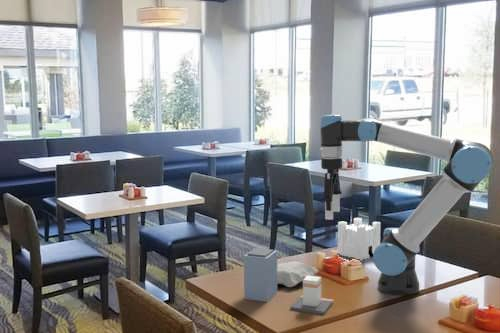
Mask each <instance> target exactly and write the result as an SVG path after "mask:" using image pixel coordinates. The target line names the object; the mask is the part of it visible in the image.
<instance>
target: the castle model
mask: <svg viewBox="0 0 500 333" xmlns="http://www.w3.org/2000/svg"><path fill="white" fill-rule="evenodd" d="M371 224H372V225H368V224H364V223H363V219H362V218H361V217H354V218H353V223H351V224H348V222H347V221H343V220H342V221H337V251H338V252H339V253H340V256H344V257H346V256H348V257H347V258H350V257H354V258H358V259H361V260H360V261H364V260H363V259H365V260H367V258H368V259H370V254H369V251H371V254H373V255H374V251H375V249H376V247H377V246H379V245H380V244H381V225H382V224H381V222H380V221H373V222H372V223H371Z"/></svg>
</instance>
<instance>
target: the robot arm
mask: <svg viewBox="0 0 500 333" xmlns="http://www.w3.org/2000/svg"><path fill="white" fill-rule="evenodd" d="M342 118H343V116H342V115H341V114H325V115H322V116H321V117H320V126H319V130H320V148H319V152H320V154H321V156H320V157H321V163H320V165H321V169H322V170H326V172H325V174H324V188H323V190H324V191H323V198H322V202H324V212H325V213H324V216H325V217H324V219H325V220H329V221H330V220H334V212H335V213H339V212H341V211H340V210H341V202H340V201H341V198H340V195H342V193H343V191H342V190H341V184H340V183H341V182H340V175H339V170H340V169H342V168H343V158H342V157H343V142H366V143H367V142H378V143H381V144H384V145H388V146H391V147H396V148H399V149H403V150H405V151H409V152H413V153H416V154H419V155H423V156H426V157H430V158H434V159H437V160H440V161H444V162H445V163H446V165H445V166H444V168H443V169H442V177H441V178H440V180H439V181H438V182H437V183H436V184H435V186H434V187H432V189H431V190H430V191H429V192H428V194H427V195H426V196H425V197H424V198H423V199H422V201H421V202H420V203H419V204H418V206H417V207H416V208H415V209H414V210H413V211H412V213H411V214H410V215H409V216H408V217H407V219H405V221H404V222H403V223H402V224H401V226H399V227H386V228H384V230H383V240H382V241H380V245H379V246H377V247H376V249H375V251H374V254H373V255H372V259H373V263H374V266H375V267H376V268H377V270H378V271H379V272H381V273H380V275H379V278H378V281H377V288H378V289H379V290H380V291H381V292H383V293H387V294H389V295H390V294H391V295H397V296H409V295H414V294H415V295H416V294H417V293H419V291H420V281H419V278H418V275H417V272H416V256H417V255H418V254H419V252H420V249H421V248H420V244H421V243H422V242H423V241H424V240H425V238H427V236H428V235H429V234H430V233H431V232H432V230H433V229H434V228H436V226H437V225H438V224H439V223H440V221H441V220H442V219H443V218H444V217H445V216H446V215H447V213H448V212H449V211H450V210H451V209H452V207H454V206H455V204H456V203H457V202H458V201H459V200H460V199H461V198H462V196H463V195H464V194H465V193H466V194H467V193H472V192H473V191H474V190H475V189H476V188H477V186H478V185H479V184H480V183H481V182H482V181H483V180H485V179H486V178H487V177H488V176H489V175H490V173H491V170H492V168H493V164H494V159H493V158H494V157H493V153H492V151H491V150H490V148H488V147H487V145H484V144H482V143H480V142H474V141H468V140H464V139H459V138H455V139H452V140H450V139H448V138H443V137H441V136H436V135H433V134H429V133H426V132H421V131H417V130H413V129H409V128H407V127H403V126H399V125H396V124H391V123H388V122H385V121H379V120H378V119H375V118H373V117H364V118H360V119H352V120H351V119H348V120H346V119H342Z"/></svg>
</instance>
